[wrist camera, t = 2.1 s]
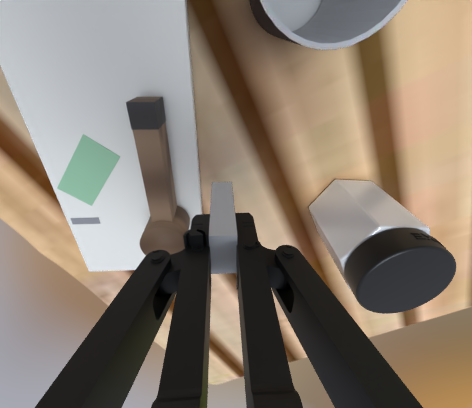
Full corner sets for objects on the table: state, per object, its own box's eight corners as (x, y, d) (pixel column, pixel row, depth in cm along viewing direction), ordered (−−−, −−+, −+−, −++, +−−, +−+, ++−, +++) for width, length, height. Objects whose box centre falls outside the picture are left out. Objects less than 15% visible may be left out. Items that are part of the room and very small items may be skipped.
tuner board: (-32, -47, 17) (-54, -56, 16) (183, -40, 18) (180, -48, 16) (94, 263, 33) (88, 272, 31) (205, 259, 33) (205, 267, 32)
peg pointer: (124, 96, 21) (103, 104, 17) (176, 96, 21) (167, 104, 17) (154, 235, 28) (144, 262, 25) (191, 234, 29) (187, 261, 25)
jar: (380, 220, 32) (457, 298, 21) (320, 243, 33) (366, 326, 23) (370, 163, 27) (460, 227, 17) (301, 192, 29) (346, 267, 18)
